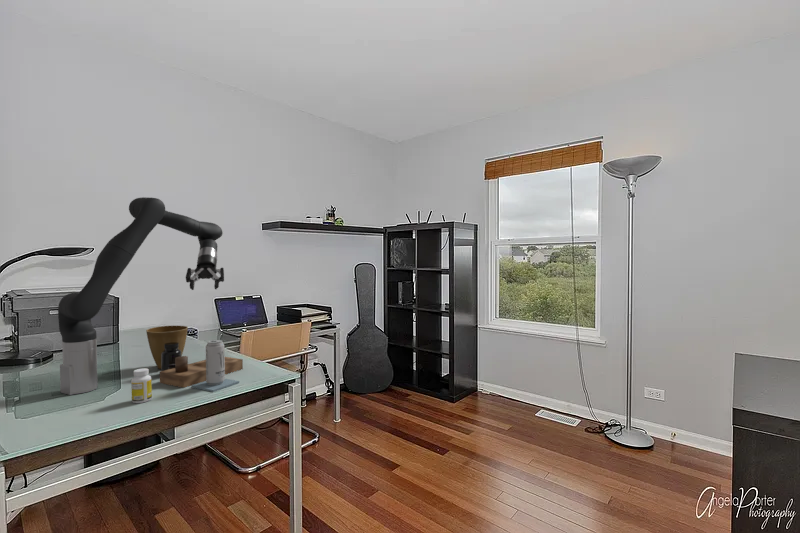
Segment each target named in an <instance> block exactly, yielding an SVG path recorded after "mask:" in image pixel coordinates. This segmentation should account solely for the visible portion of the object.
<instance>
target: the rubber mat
mask: <svg viewBox="0 0 800 533" xmlns="http://www.w3.org/2000/svg"><path fill="white" fill-rule="evenodd" d="M237 384H240V381H239V380H234V379H229V378H225V380H224V381H223V383H222V384H219V385H208V383H207V382H206V381H204V382H201V383H197V384H194V385H191V388H192V387H193V389H196V388H197V390H200V391H207V392H211V393H214V392H218V391H220V390H223V389H227V388H229V387H232V386H234V385H237ZM217 390H218V391H217Z"/></svg>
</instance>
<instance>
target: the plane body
mask: <svg viewBox="0 0 800 533" xmlns="http://www.w3.org/2000/svg"><path fill="white" fill-rule="evenodd" d="M224 357H225V374H226V375H229V374H232V373H235V372H238V371H241V369H242V370H243V369H244V368H243V365H244V364H243V363H244V362H243V359H242V358H236V357H231V356H230V357H229V356H224ZM188 358H189V356H188V355H182V356H180V357H176V358H175V368H172V369H168V370H165V371H161V370H160V371H159V384H164V385H169V386H172V385H173V387H177V386H178V387H179V388H182V387H183V388H182V389H184V387H185V388H188V387H190V386H192V385H195V384H198V383H200V382H205V381H206V359H204V360H200V361H196V362H192V363H189V362H188V361H189V359H188ZM237 370H238V371H237ZM234 371H235V372H234ZM231 372H232V373H231ZM228 373H229V374H228ZM187 386H188V387H187Z"/></svg>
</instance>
